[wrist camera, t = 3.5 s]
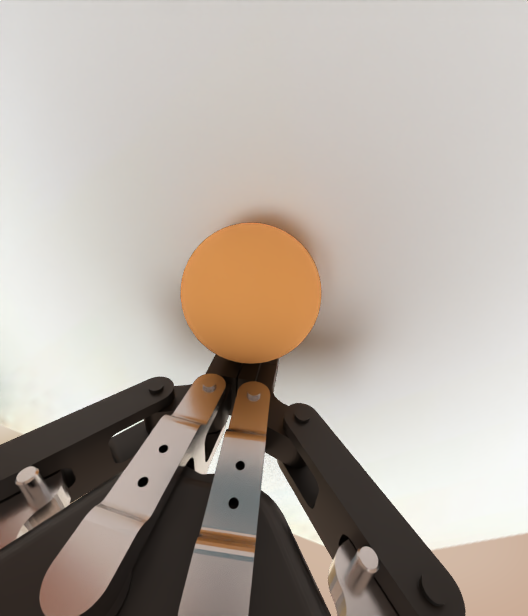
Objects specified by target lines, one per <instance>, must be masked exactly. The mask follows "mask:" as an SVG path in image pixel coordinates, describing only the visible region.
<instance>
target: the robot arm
mask: <svg viewBox="0 0 528 616" xmlns="http://www.w3.org/2000/svg"><path fill="white" fill-rule="evenodd" d="M278 362H279V358H277V359H274V360H271V361H268V362H263V363H253V364H248V363H239V362H234V361H231V360H228V359H225V358H223V357H220V356H218V355H217V354H216V355H215V357H214V359H213V361H212V363H211V365H210V366H209V368H208V370H207V372H206V374H205V375H202V376H200V377H198V378H197V379H196V380H195V381H194V383H193V384H191V385H183V386H174V384H173V382H172V381H171V380H170V379H169V378H166V377H154V378H151V379H148V380H146V381H144V382H142V383H139V384H137V385H135V386H133V387H130V388H128V389H126V390H123V391H121V392H119V393H117V394H114V395H112V396H110V397H108V398H105V399H103V400H101V401H99V402H96V403H94V404H92V405H89V406H87V407H85V408H83V409H80V410H78V411H76V412H74V413H71V414H69V415H67V416H65V417H62V418H60V419H58V420H56V421H53V422H51V423H49V424H46V425H44V426H42V427H40V428H37V429H35V430H33V431H31V432H28V433H26V434H24V435H22V436H20V437H17V438H15V439H13V440H10V441H8V442H6V443H4V444H1V445H0V616H331V614H330V612H329V610H328V608H327V606H326V604H325V602H324V600H323V597H322V595H321V593H320V591H319V589H318V587H317V585H316V583H315V580H314V579H313V576H312V574H311V572H310V570H309V568H308V566H307V564H306V561H305V559H304V558H303V555H302V553H301V551H300V549H299V547H298V544H297V542H296V540H295V538H294V536H293V534H292V532H291V530H290V528H289V525H288V523H287V521H286V519H285V517H284V515H283V513H282V512H281V510H280V509H279V507H278V506H277V504H276V503H275V502H274V501H273V500H272V499H271V498H270V497H269V496H268V495H267V494H266V493H264V492H263V491H261V483H262V473H263V463H264V454H265V452H266V453H268V454H269V455H271V456H273V457H274V458H276V459H277V462H278V465H279V467H280V469H281V470H282V472H283V474H284V476H285V477H286V479H287V481H288V482H289V484H290V486H291V488H292V489H293V491H294V493H295V495H296V496H297V498H298V500H299V502H300V503H301V505H302V507H303V509H304V510H305V512H306V514H307V516H308V517H309V519H310V521H311V523H312V524H313V526H314V528H315V530H316V531H317V533H318V535H319V536H320V538H321V540H322V542H323V543H324V545H325V547H326V549H327V550H328V552H329V554H330V556H331V557H332V559H333V561H332V564H331V566H330V568H329V572H328V585H329V589H330V593H331V596H332V598H333V601H334V603H335V607H336V610H337V616H465V605H464V601H463V597H462V594H461V592H460V590H459V588H458V586H457V584H456V582H455V581H454V579H453V578H452V576H451V575H450V574H449V572H448V571H447V570H446V569H445V567H444V566H443V565H442V564H441V563H440V561H439V560H438V559H437V558H436V557H435V555H434V554H433V553H432V552H431V550H430V549H429V548H428V547H427V546H426V544H425V543H424V542H423V541H422V539H421V538H420V537H419V536H418V535H417V533H416V532H415V531H414V530H413V528H412V527H411V526H410V525H409V524H408V522H407V521H406V520H405V519H404V518H403V516H402V515H401V514H400V513H399V511H398V510H397V509H396V508H395V507H394V505H393V504H392V503H391V502H390V501H389V499H388V498H387V497H386V496H385V494H384V493H383V492H382V491H381V490H380V488H379V487H378V486H377V485H376V483H375V482H374V481H373V480H372V479H371V477H370V476H369V475H368V474H367V473H366V471H365V470H364V469H363V468H362V466H361V465H360V464H359V463H358V462H357V460H356V459H355V458H354V457H353V456H352V454H351V453H350V452H349V451H348V449H347V448H346V447H345V446H344V445H343V443H342V442H341V441H340V440H339V438H338V437H337V436H336V435H335V434H334V432H333V431H332V430H331V429H330V428H329V426H328V425H327V424H326V423H325V421H324V420H323V419H322V418H321V417H320V415H319V414H318V413H317V412H316V411H315V410H314V409H313V408H312V407H310V406H309V405H306V404H302V403H295V404H292V405H290V406H287V405H285V404H283V403H281V402H280V401H279V400H278V399H277V398H276V397H275V396H274V394H273V392H274V386H275V381H276V376H277V369H278ZM229 415H232V417H231V421H230V425H229V428H228V429H227V430H226V432H225V435H224V439H223V443H222V447H221V451H220V455H219V459H218V463H217V467H216V471H215V474H207V471H208V468H209V466H210V463H211V461H212V459H213V456H214V454H215V452H216V449H217V447H218V445H219V443H220V440H221V438H222V436H223V433H224V431H225V424H226V422H227V419H228V416H229ZM143 419H144V421H142V422H141V423H139V424H137V425H135V426H133V427H131V428H129V429H127V430H125V431H123V432H122V433H120V434H118V435H116V436H114V437H112V436H113V435H115V434H116V433H118V432H120V431H122V430H123V429H125V428H127V427H129V426H131V425H133V424H135V423H137V422H139V421H141V420H143ZM111 437H112V438H111ZM91 490H92V491H91ZM86 493H87V494H86ZM83 495H84V496H83ZM81 496H82V497H81ZM80 497H81V498H80ZM78 498H79V499H78ZM77 499H78V500H77ZM75 500H76V501H75ZM73 501H75V502H73ZM71 502H73V503H71ZM70 503H71V504H70ZM69 504H70V505H69Z"/></svg>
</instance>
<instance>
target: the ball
mask: <svg viewBox="0 0 528 616" xmlns="http://www.w3.org/2000/svg"><path fill="white" fill-rule="evenodd" d="M181 303H182V309H183V313H184V316H185V319H186V321H187V323H188V326H189V327H190V329H191V330H192V332H193V334H194V335H195V336H196V338H197V339H198V340H199V341H200V342H201V343H202V344H203V345H204V346H205V347H207V348H208V349H209V350H210V351H212V352H213V353H215V354H217V355H218V356H220V357H223V358H225V359H228V360H231V361H234V362H239V363H248V364H253V363H263V362H268V361H271V360H274V359H277V358H280V357H282V356H284V355H285V354H287V353H289V352H290V351H292V350H293V349H294V348H296V347H297V346H298V345H299V344H300V343H301V342H302V341H303V340H304V339H305V337H306V336H307V335H308V334H309V332H310V331H311V329H312V327H313V325H314V324H315V321H316V319H317V316H318V313H319V309H320V303H321V283H320V277H319V274H318V271H317V268H316V265H315V263H314V261H313V259H312V257H311V256H310V254H309V253H308V251H307V250H306V249H305V248H304V247H303V245H302V244H301V243H300V242H299V241H297V240H296V239H295V238H294V237H293V236H291V235H290V234H288V233H287V232H285V231H283V230H281V229H279V228H276V227H273V226H270V225H267V224H261V223H240V224H235V225H231V226H228V227H225V228H223V229H221V230H219V231H217V232H215V233H213V234H212V235H211V236H209V237H208V238H206V239H205V240H204V241H203V242H202V243H201V244H200V245H199V246H198V247H197V249H196V250H195V251H194V252H193V254H192V255H191V257H190V259H189V260H188V263H187V265H186V267H185V270H184V273H183V277H182V282H181Z"/></svg>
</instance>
